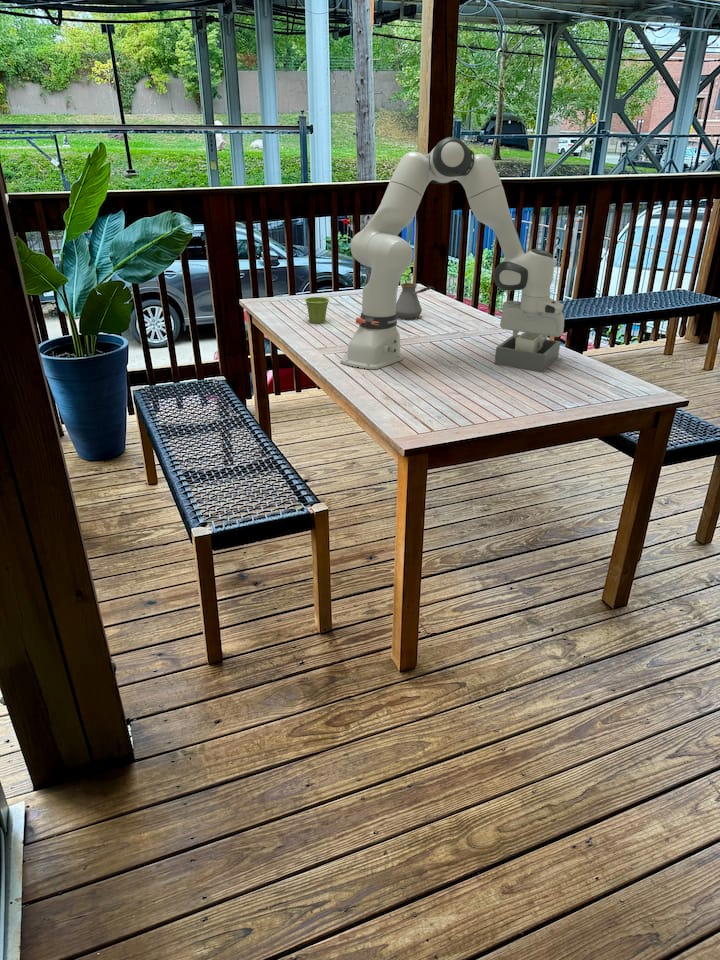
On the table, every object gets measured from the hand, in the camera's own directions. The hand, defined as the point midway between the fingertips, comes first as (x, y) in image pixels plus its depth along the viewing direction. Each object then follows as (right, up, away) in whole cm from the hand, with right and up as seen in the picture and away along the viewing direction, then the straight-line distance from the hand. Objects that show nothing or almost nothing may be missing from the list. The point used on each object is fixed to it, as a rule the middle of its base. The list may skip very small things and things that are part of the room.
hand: (528, 345), depth 214 cm
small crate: (0, -1, +1) cm, 2 cm away
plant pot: (-72, +18, +43) cm, 86 cm away
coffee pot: (-34, +20, +48) cm, 62 cm away
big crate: (0, -5, +3) cm, 5 cm away
